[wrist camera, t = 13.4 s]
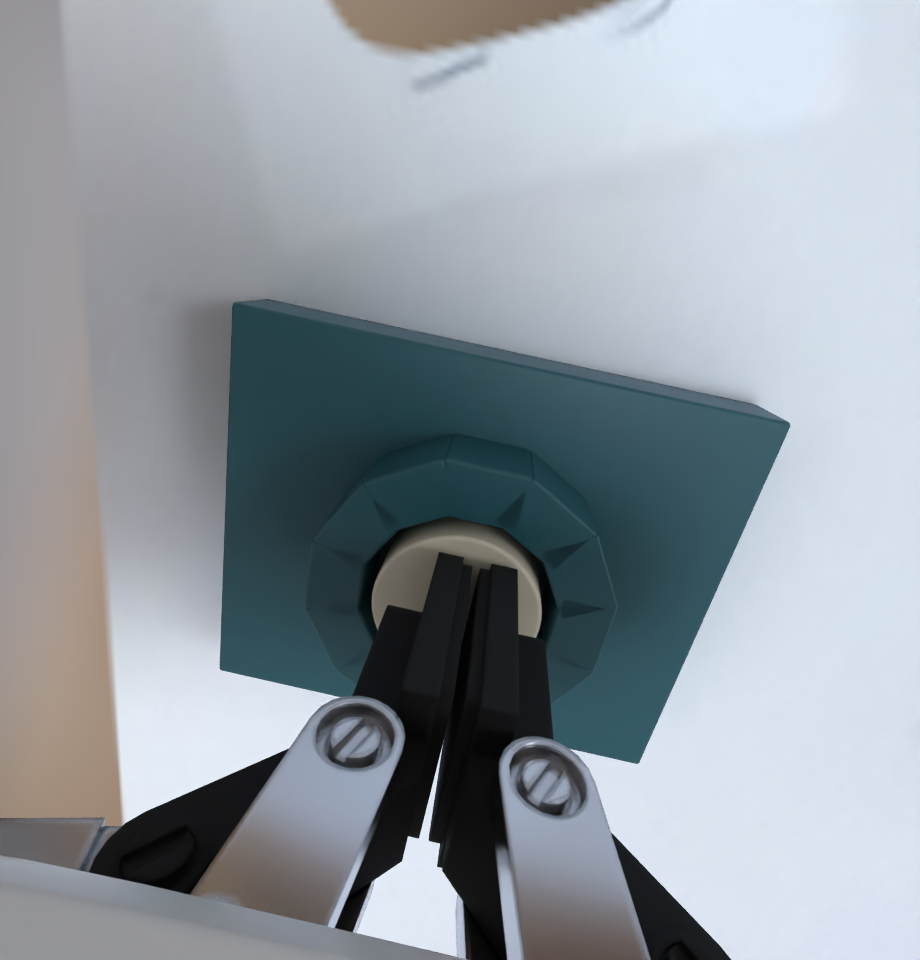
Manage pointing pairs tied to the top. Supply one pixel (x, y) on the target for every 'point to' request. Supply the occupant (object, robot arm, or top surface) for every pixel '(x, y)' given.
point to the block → (477, 503)
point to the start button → (480, 547)
